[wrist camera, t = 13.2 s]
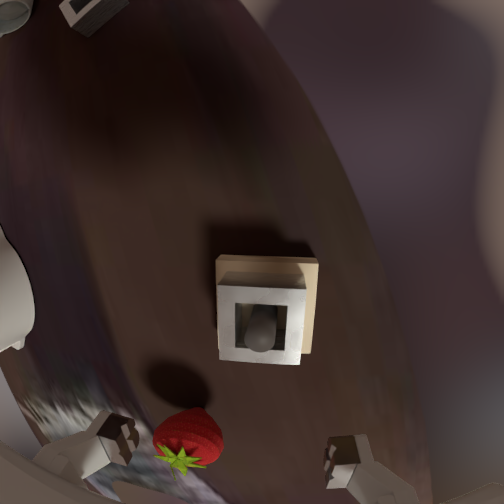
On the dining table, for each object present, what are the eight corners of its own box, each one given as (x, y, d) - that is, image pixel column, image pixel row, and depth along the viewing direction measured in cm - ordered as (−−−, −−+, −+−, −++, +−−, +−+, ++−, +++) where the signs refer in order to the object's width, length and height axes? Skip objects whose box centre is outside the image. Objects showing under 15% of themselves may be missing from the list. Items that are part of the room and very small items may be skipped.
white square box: (88, 38, 22) (70, 27, 18) (74, 16, 21) (58, 5, 18) (130, 3, 21) (115, -12, 17) (112, -17, 20) (98, -30, 16)
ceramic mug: (46, -19, 20) (17, -35, 12) (40, 10, 21) (7, -6, 14) (4, 19, 21) (-25, 9, 14) (-2, 50, 23) (-35, 42, 15)
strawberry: (240, 424, 29) (224, 492, 20) (182, 428, 31) (155, 488, 21) (222, 386, 28) (198, 457, 19) (161, 392, 30) (125, 453, 20)
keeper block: (223, 337, 27) (204, 381, 20) (221, 254, 25) (197, 279, 18) (308, 342, 26) (314, 388, 19) (315, 257, 24) (326, 284, 18)
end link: (228, 337, 25) (219, 359, 21) (227, 270, 23) (217, 285, 20) (298, 342, 24) (299, 364, 21) (303, 274, 23) (306, 289, 19)
